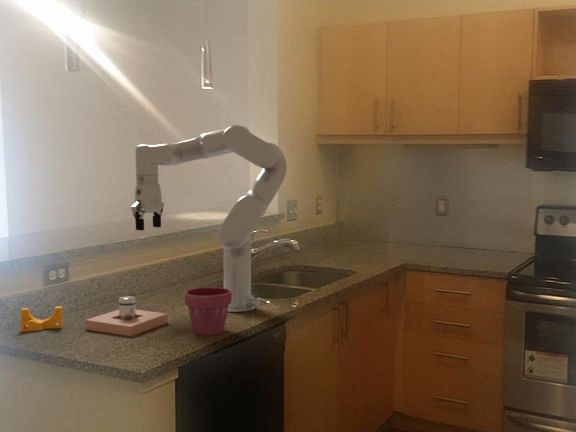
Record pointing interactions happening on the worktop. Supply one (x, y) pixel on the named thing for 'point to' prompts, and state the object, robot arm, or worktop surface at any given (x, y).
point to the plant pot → (208, 309)
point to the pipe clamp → (40, 324)
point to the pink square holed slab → (126, 322)
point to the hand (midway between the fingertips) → (148, 228)
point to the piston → (127, 308)
